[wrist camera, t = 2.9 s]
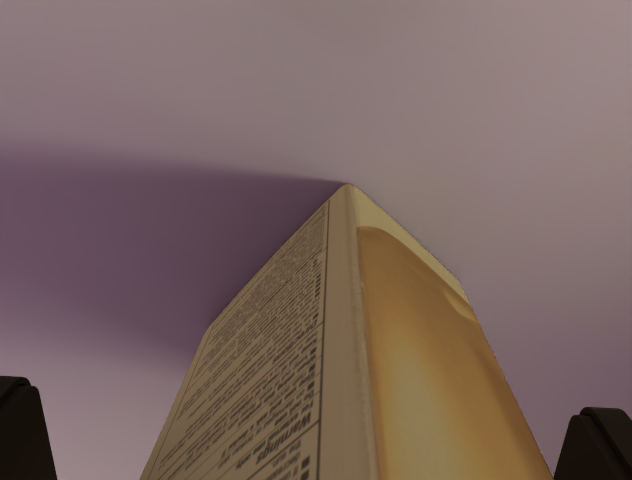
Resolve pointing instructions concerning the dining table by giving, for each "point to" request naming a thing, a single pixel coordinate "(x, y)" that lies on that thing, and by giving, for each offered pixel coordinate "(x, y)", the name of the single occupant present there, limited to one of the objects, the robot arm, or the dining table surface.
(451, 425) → the skincare box
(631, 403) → the dining table surface
